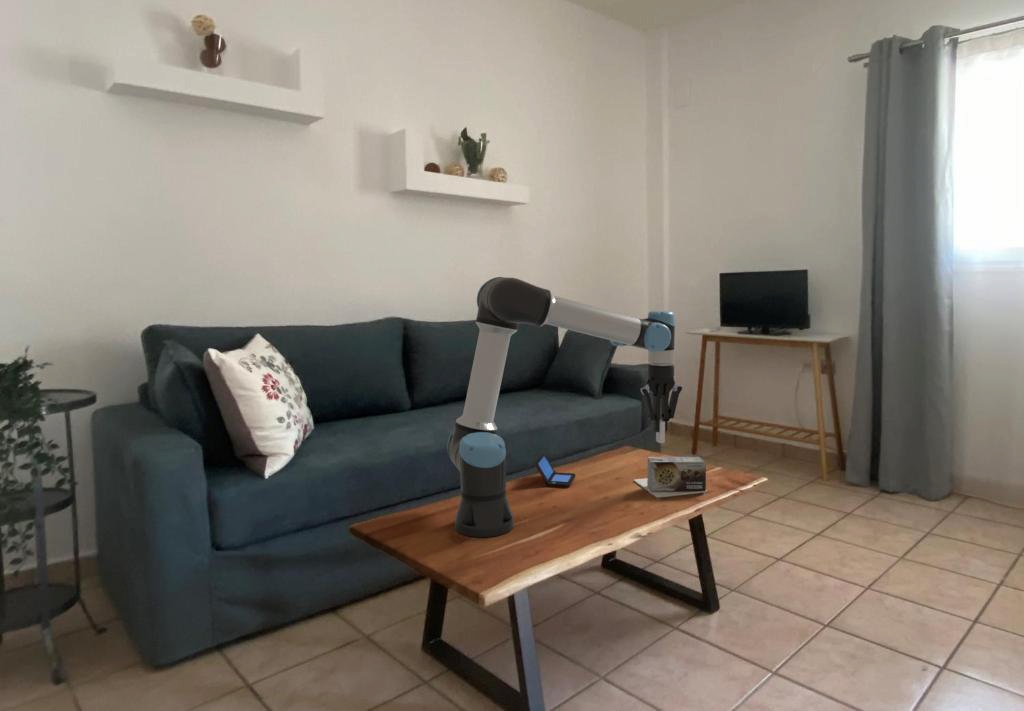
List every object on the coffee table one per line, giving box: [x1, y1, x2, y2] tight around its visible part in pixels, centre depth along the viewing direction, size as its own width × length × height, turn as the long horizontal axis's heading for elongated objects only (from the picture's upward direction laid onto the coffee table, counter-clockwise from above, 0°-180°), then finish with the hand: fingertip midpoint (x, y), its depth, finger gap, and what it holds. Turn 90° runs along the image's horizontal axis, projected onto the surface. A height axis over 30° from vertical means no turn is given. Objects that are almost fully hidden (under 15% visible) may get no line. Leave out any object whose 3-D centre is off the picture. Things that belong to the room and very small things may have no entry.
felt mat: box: [633, 477, 708, 499], centre depth 201 cm, size 16×16×1 cm
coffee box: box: [646, 456, 707, 492], centre depth 197 cm, size 9×6×16 cm
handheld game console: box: [534, 453, 576, 489], centre depth 208 cm, size 12×11×7 cm
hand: (660, 442), depth 199 cm, fingers closed
